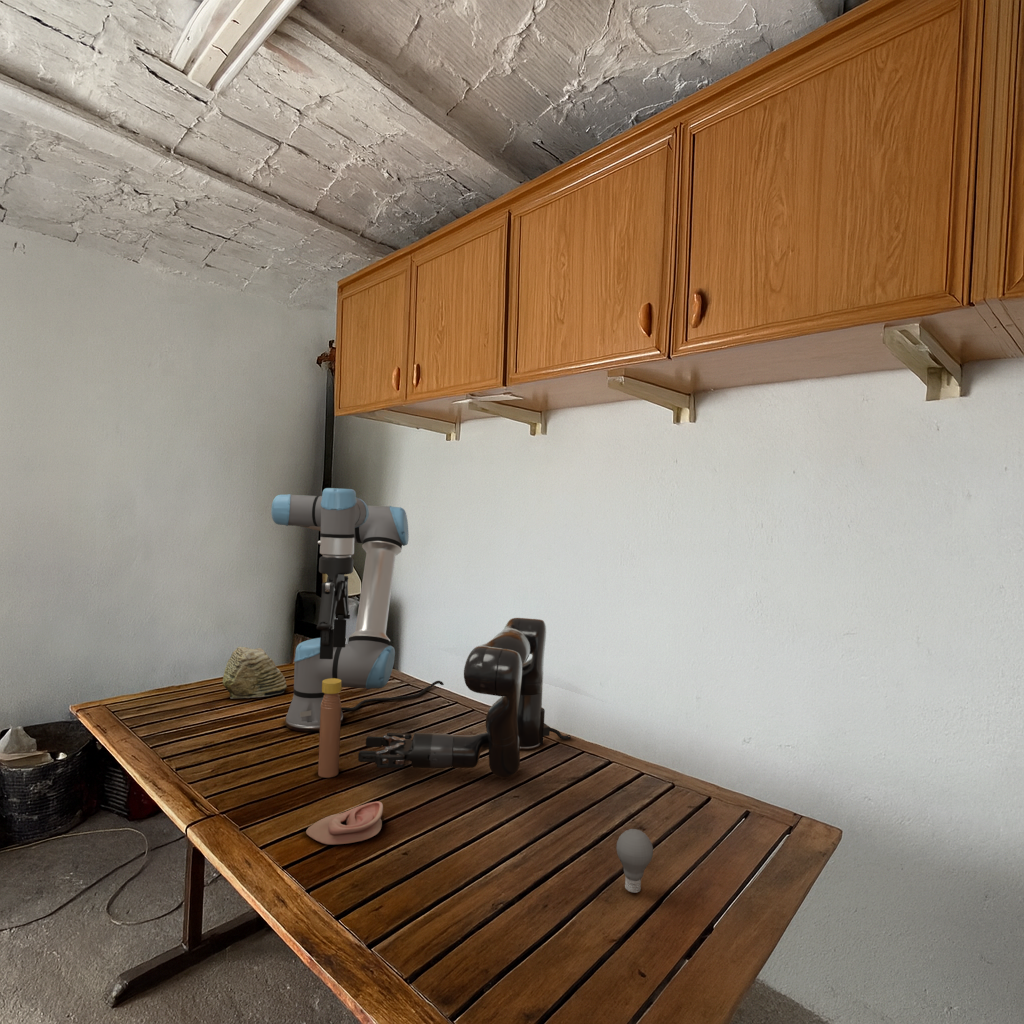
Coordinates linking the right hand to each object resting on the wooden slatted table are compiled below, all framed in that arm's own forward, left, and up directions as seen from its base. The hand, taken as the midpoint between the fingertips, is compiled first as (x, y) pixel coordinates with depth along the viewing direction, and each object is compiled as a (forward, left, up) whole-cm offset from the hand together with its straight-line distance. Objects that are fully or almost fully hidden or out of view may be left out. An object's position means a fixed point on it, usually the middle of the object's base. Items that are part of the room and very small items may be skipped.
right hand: (362, 748), depth 145 cm
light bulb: (-31, +60, -6) cm, 68 cm away
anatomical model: (+9, +23, -6) cm, 25 cm away
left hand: (+7, -3, +22) cm, 23 cm away
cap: (+7, -3, +15) cm, 17 cm away
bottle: (+7, -3, -6) cm, 10 cm away
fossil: (+17, -68, -6) cm, 70 cm away
